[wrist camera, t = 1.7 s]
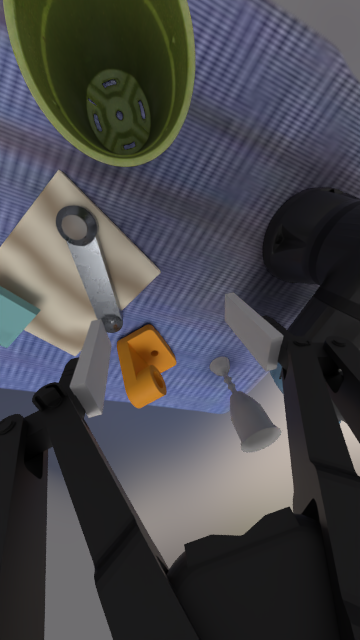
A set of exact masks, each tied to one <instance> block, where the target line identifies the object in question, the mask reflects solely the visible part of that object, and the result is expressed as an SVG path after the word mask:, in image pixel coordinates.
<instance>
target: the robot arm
mask: <svg viewBox="0 0 360 640" xmlns="http://www.w3.org/2000/svg"><path fill="white" fill-rule="evenodd" d="M263 259H264V263H265V265H266V267H267V269H268V271H269V272H270V273H271V274H272V275H273V276H275V277H277V278H279V279H281V280H283V281H286V282H290V283H307V284H318V285H320V287H319V288H318V290H317V291H316V292H315V294H314V295H313V296H312V298H311V299H310V300H309V302H308V303H307V304H306V306H305V307H304V308H303V310H302V311H301V312H300V314H299V315H298V316H297V318H296V319H295V320H294V322H293V323H292V325H291V326H290V327H289V329H288V330H286V329H285V328H284V327H283V326H281V325H280V324H279V323H277V322H276V321H275V320H274V319H273V318H270V317H268V316H260V315H259V314H258V313H257V312H256V311H254V310H253V309H252V308H251V307H250V306H249V305H247V304H246V303H245V302H244V301H243V300H242V299H240V298H239V297H238V296H237V295H236V294H235V293H229V294H225V321H226V323H227V324H228V325H229V326H230V328H231V329H232V330H233V331H234V333H235V334H236V335H237V336H238V338H239V339H240V340H241V341H242V343H243V344H244V345H245V346H246V348H247V349H248V350H249V351H250V353H251V354H252V355H253V356H254V357H255V359H256V360H257V361H258V362H259V364H260V365H261V366H262V367H263V369H264V370H265V371H270V373H271V376H272V378H273V379H274V382H275V383H276V385H277V386H278V388H279V389H280V391H281V392H282V393H283V394H284V403H285V412H286V421H287V429H288V439H289V448H290V457H291V467H292V476H293V485H294V496H293V512H292V510H291V509H290V507H287V508H284V509H281V510H278V511H276V512H273V513H270V514H267V515H265V516H264V517H263V518H262V519H261V520H259V522H257V523H256V524H255V525H254V526H253V527H252V528H251V529H250V530H248V531H247V532H246V533H245V534H244V535H241V536H233V535H209V536H206V537H204V538H201V539H198V540H195V541H193V542H190V543H187V544H185V545H184V546H185V552H183V553H182V554H181V555H180V556H179V557H178V558H177V560H176V561H175V562H174V563H173V565H172V566H171V568H170V569H169V568H168V566H167V565H166V563H165V561H164V559H163V558H162V556H161V554H160V552H159V551H158V549H157V547H156V546H155V544H154V543H153V541H152V539H151V537H150V536H149V534H148V532H147V530H146V529H145V527H144V525H143V523H142V522H141V520H140V518H139V516H138V514H137V513H136V511H135V509H134V507H133V506H132V504H131V502H130V500H129V498H128V497H127V495H126V493H125V491H124V489H123V488H122V486H121V484H120V482H119V481H118V479H117V477H116V475H115V473H114V472H113V470H112V468H111V466H110V464H109V463H108V461H107V459H106V457H105V456H104V454H103V452H102V450H101V448H100V447H99V445H98V443H97V442H96V439H95V438H94V436H93V434H92V432H91V431H90V429H89V427H88V425H87V424H86V422H85V420H84V416H85V412H86V414H87V415H88V417H93V416H97V415H101V414H102V412H103V404H104V397H105V389H106V382H107V375H108V367H109V360H110V352H111V343H110V340H109V338H108V335H107V333H106V330H105V327H104V325H103V322H102V320H101V319H99V320H94V321H91V324H90V327H89V330H88V333H87V336H86V339H85V342H84V345H83V348H82V351H81V354H80V357H78V358H74V359H71V360H70V361H69V362H68V363H67V364H66V366H65V368H64V371H63V373H62V376H61V378H60V381H59V383H56V382H54V383H49V384H47V385H45V386H43V387H42V388H40V389H39V390H38V391H37V392H36V393H35V394H34V396H33V398H32V402H33V403H34V405H35V406H36V407H37V408H38V409H39V411H37V412H35V413H33V414H31V415H29V416H27V417H25V418H23V416H21V415H20V414H14V415H11V416H8V417H7V418H5V419H3V420H2V421H0V640H44V621H45V620H44V619H45V573H46V570H45V569H46V525H47V521H46V520H47V476H48V474H47V473H48V449H49V448H51V447H53V448H54V451H55V454H56V457H57V460H58V463H59V465H60V468H61V471H62V474H63V477H64V480H65V482H66V485H67V488H68V491H69V494H70V497H71V500H72V503H73V505H74V508H75V511H76V514H77V516H78V520H79V522H80V525H81V528H82V531H83V534H84V536H85V540H86V542H87V545H88V548H89V551H90V554H91V556H92V560H93V563H94V566H95V574H94V579H95V585H96V588H97V592H98V595H99V598H100V601H101V604H102V607H103V610H104V613H105V616H106V619H107V622H108V625H109V628H110V631H111V634H112V637H113V640H360V476H358V475H357V474H356V472H355V470H354V467H353V464H352V461H351V458H350V455H349V452H348V449H347V446H346V443H345V440H344V437H343V433H342V430H341V428H340V423H341V420H342V421H344V422H345V423H347V424H348V426H349V427H350V429H351V430H352V432H353V434H354V435H355V437H356V438H357V440H358V441H359V443H360V199H359V198H356V197H354V196H352V195H349V194H347V193H344V192H342V191H340V190H338V189H335V188H329V187H322V188H311V189H307V190H304V191H302V192H300V193H298V194H296V195H294V196H293V197H292V198H290V199H289V200H288V201H287V202H286V203H285V204H284V205H283V206H282V207H281V208H280V209H279V210H278V211H277V213H276V214H275V216H274V217H273V219H272V221H271V222H270V224H269V227H268V229H267V231H266V234H265V238H264V243H263Z"/></svg>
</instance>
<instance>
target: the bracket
mask: <svg viewBox="0 0 360 640" xmlns="http://www.w3.org/2000/svg"><path fill="white" fill-rule="evenodd" d="M117 351H118V355H119V360H120V365H121V370H122V375H123V380H124V385H125V390H126V393H127V396H128V398H129V400H130V401H131V403H132V404H133V405H134V406H135V407H136V408H141V407H143V406H145V405H147V404H149V403H151V402H153V401H155V400H156V399H158V398H160V397H162V396H164V395H166V392H167V391H166V385H165V382H164V380H163V377H162V375H161V374H160V373H162V372H164V371H166V370H167V369H169V368H171V367H173V366H175V365H176V359H175V355H174V354H173V352H172V351H171V349H170V347H169V346H168V344H167V343H166V342H165V340H164V339H163V338H162V336H161V335H160V334H159V332H158V331H157V330H155V328H154V327H153V326H152V325H145V326H144V327H142V328H140V329H138V330H137V331H135V332H133V333H131V334H129V335H128V336H126V337H124V338H122V339H121V340H119V341H117Z"/></svg>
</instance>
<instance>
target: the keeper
mask: <svg viewBox="0 0 360 640" xmlns="http://www.w3.org/2000/svg"><path fill="white" fill-rule="evenodd" d="M40 311H41V310H40V309H39V308H37V307H35V306H34V305H32V304H30V303H28V302H27V301H25V300H23V299H22V298H20V297H18V296H17V295H15V294H13V293H12V292H10V291H8V290H7V289H5V288H3V287H1V286H0V345H1V346H3V347H6V348H8V347H9V346H10V344H11V343H12V342H13V341H14V340H15V339H16V338H17V337H18V335H19V334H20V333H21V332H22V331H23V330H24V329H25V328H26V327H27V325H28V324H29V323H30V322H31V321H32V320H33V319H34V318H35V316H36V315H37V314H38V313H39V312H40Z"/></svg>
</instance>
